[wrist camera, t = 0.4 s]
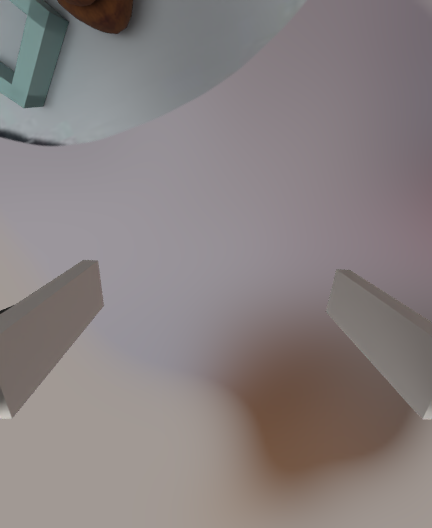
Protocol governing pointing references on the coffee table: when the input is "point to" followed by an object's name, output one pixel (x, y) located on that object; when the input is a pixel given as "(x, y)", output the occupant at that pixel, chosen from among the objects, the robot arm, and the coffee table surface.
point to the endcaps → (34, 55)
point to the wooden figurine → (101, 13)
